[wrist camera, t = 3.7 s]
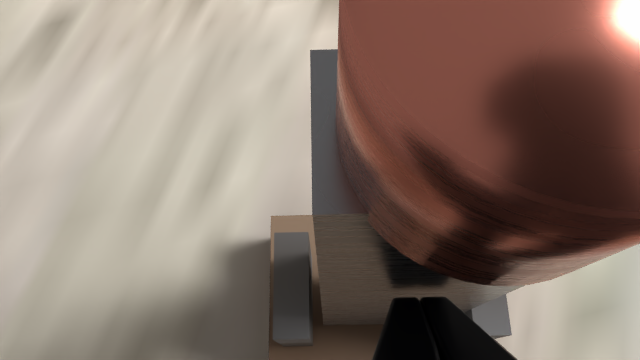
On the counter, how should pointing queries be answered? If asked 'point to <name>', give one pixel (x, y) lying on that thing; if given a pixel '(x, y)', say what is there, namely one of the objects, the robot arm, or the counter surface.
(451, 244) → the nutcracker lever
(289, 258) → the stand
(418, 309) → the robot arm
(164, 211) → the counter surface
